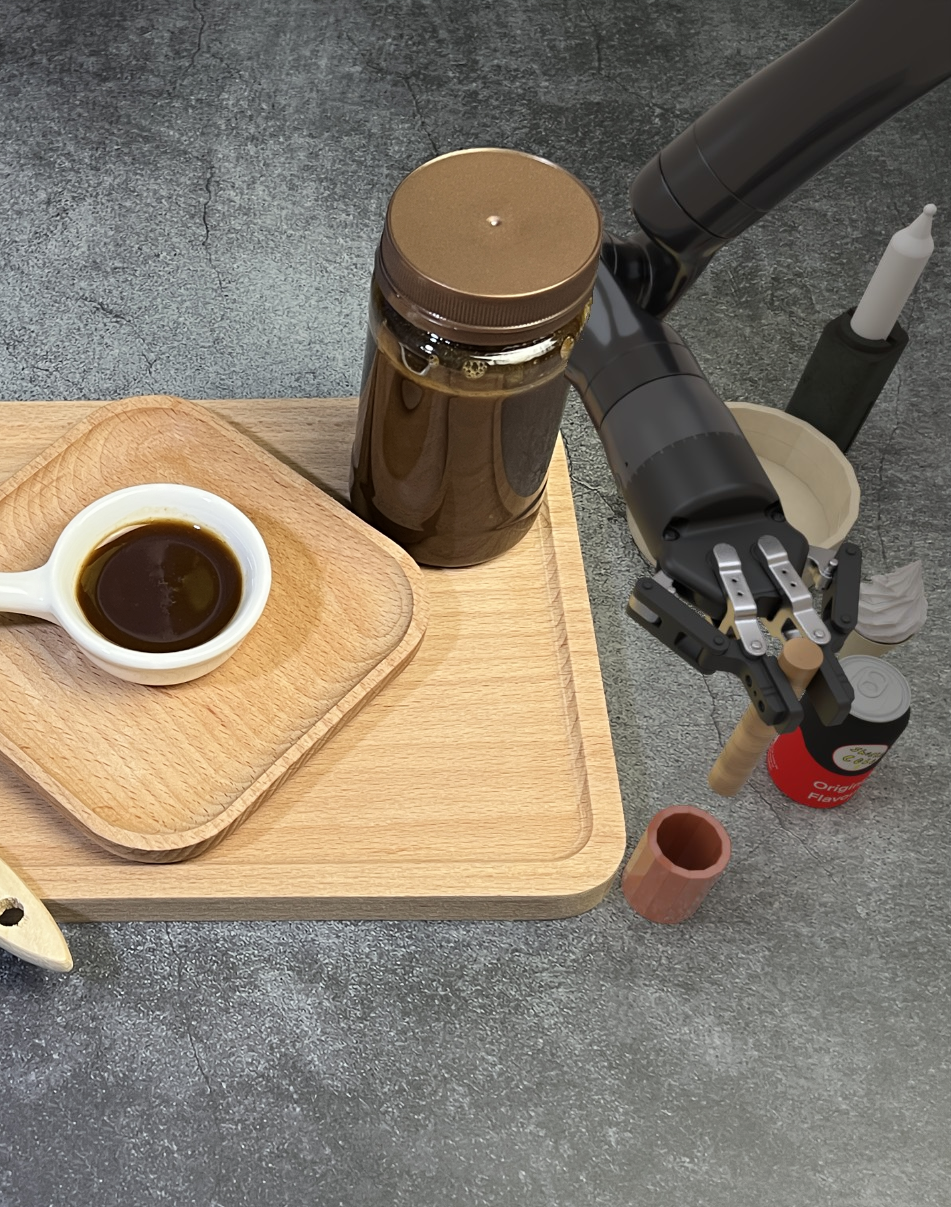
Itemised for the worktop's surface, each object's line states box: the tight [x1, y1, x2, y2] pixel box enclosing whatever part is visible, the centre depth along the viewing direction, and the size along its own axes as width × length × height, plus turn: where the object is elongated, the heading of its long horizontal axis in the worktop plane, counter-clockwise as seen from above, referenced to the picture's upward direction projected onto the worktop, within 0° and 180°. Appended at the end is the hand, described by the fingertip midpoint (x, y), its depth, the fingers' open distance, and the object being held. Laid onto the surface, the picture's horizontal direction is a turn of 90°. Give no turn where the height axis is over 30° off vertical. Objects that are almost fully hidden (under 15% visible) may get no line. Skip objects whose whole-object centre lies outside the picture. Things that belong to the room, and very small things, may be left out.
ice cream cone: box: [837, 558, 929, 661], centre depth 102 cm, size 5×5×15 cm
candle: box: [784, 203, 937, 455], centre depth 111 cm, size 5×5×25 cm
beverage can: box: [766, 655, 912, 809], centre depth 98 cm, size 6×6×12 cm
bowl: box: [625, 401, 861, 589], centre depth 114 cm, size 16×16×6 cm
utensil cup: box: [621, 804, 732, 925], centre depth 95 cm, size 5×5×8 cm
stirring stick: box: [707, 638, 823, 797], centre depth 80 cm, size 2×2×14 cm
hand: (816, 720), depth 74 cm, fingers closed on stirring stick, 2 cm apart
